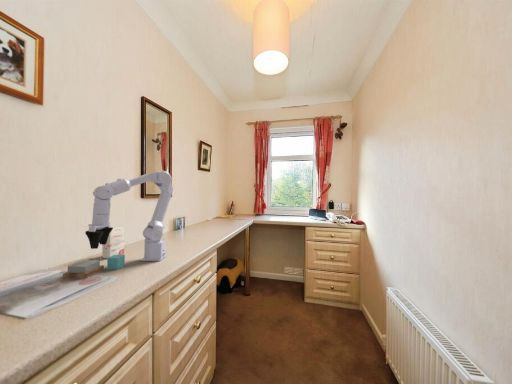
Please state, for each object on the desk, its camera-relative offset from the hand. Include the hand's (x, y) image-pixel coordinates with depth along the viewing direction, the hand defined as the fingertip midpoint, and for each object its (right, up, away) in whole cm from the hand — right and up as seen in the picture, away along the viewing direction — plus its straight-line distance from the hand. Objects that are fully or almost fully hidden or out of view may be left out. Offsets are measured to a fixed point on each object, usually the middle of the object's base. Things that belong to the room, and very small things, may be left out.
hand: (98, 246), depth 85 cm
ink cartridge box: (-8, -10, +19) cm, 23 cm away
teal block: (+5, -10, +4) cm, 12 cm away
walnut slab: (-3, -11, -4) cm, 12 cm away
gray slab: (-3, -8, -4) cm, 10 cm away
